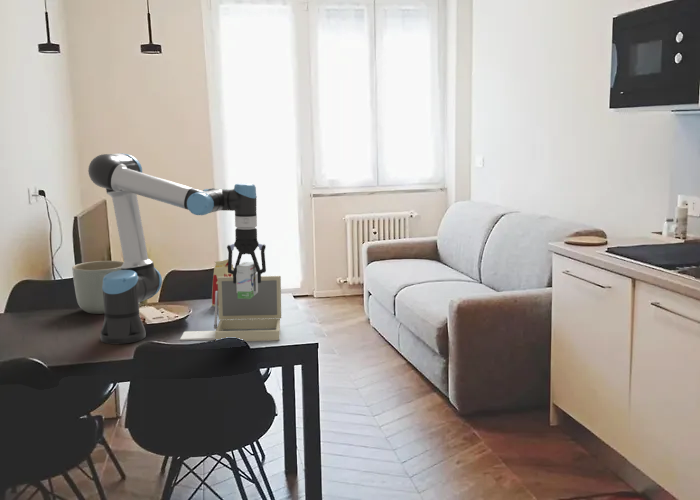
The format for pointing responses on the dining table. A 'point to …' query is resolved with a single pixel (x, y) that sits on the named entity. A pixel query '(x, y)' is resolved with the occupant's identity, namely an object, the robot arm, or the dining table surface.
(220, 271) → the milk carton
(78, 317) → the dining table surface
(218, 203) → the robot arm
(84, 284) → the planter
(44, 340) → the dining table surface
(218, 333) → the case
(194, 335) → the pad
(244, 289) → the ink box
